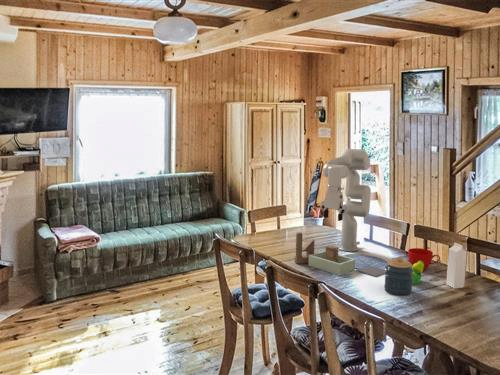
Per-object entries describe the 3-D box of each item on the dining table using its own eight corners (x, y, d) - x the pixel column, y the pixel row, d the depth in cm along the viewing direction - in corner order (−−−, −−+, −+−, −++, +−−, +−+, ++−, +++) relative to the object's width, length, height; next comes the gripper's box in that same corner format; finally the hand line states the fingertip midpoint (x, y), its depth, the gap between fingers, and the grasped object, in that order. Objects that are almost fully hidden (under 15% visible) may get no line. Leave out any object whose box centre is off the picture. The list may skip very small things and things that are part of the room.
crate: (323, 260, 272) (324, 250, 271) (354, 269, 255) (355, 259, 254) (308, 265, 262) (308, 255, 261) (339, 275, 246) (339, 264, 245)
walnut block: (330, 265, 262) (331, 245, 260) (337, 267, 259) (338, 247, 257) (325, 267, 259) (325, 246, 257) (332, 269, 255) (332, 248, 254)
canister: (408, 298, 215) (410, 262, 212) (380, 292, 222) (382, 257, 219) (414, 290, 226) (416, 255, 223) (388, 284, 233) (390, 251, 230)
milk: (456, 283, 235) (459, 241, 232) (464, 287, 230) (467, 245, 226) (445, 284, 234) (449, 242, 231) (453, 288, 228) (457, 245, 225)
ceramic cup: (439, 274, 249) (440, 256, 248) (406, 270, 255) (408, 253, 253) (438, 267, 261) (440, 250, 260) (407, 263, 267) (408, 247, 266)
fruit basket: (404, 277, 244) (405, 256, 243) (422, 278, 242) (423, 258, 240) (405, 284, 234) (406, 263, 232) (423, 286, 231) (425, 264, 229)
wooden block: (313, 262, 267) (314, 232, 264) (296, 264, 264) (297, 233, 262) (311, 261, 270) (312, 231, 268) (294, 262, 268) (295, 232, 265)
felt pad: (369, 266, 262) (369, 265, 262) (389, 271, 252) (389, 270, 252) (355, 271, 253) (355, 269, 253) (375, 277, 244) (376, 276, 244)
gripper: (351, 189, 248) (349, 220, 251) (326, 186, 261) (325, 215, 263) (342, 191, 243) (341, 222, 246) (317, 187, 256) (316, 217, 258)
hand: (333, 219), depth 255 cm, fingers open, 9 cm apart
